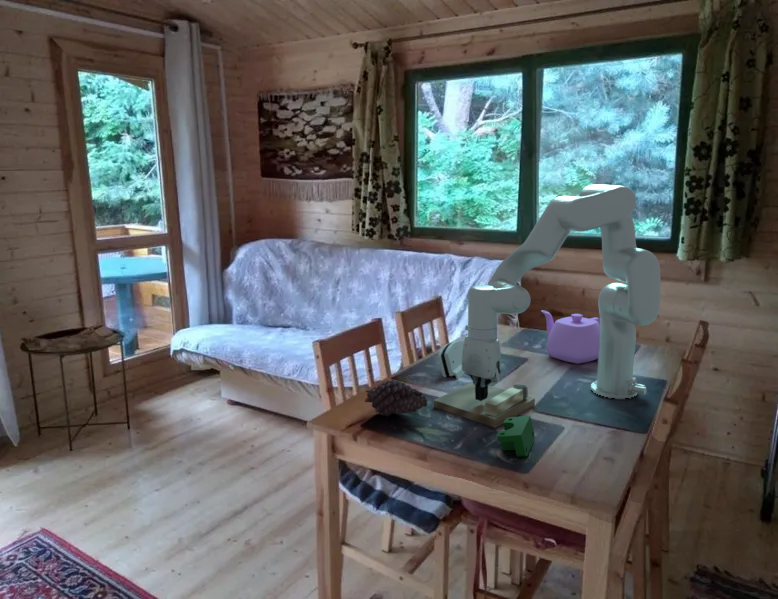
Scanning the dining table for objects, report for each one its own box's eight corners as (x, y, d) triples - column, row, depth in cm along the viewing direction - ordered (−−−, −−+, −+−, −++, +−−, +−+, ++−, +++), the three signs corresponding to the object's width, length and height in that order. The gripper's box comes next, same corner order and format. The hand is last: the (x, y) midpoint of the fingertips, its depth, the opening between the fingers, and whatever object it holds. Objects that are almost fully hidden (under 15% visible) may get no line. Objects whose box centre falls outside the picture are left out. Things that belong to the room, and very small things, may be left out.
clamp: (512, 455, 143) (508, 417, 145) (536, 454, 140) (532, 415, 142) (497, 458, 132) (493, 417, 134) (523, 456, 130) (518, 415, 132)
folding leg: (516, 393, 163) (517, 383, 162) (529, 396, 160) (529, 386, 160) (483, 412, 150) (484, 402, 150) (496, 416, 148) (497, 405, 147)
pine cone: (432, 413, 157) (432, 378, 155) (420, 428, 148) (420, 391, 146) (371, 404, 163) (370, 370, 161) (356, 419, 154) (355, 383, 152)
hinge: (457, 379, 181) (447, 348, 180) (444, 382, 183) (434, 352, 183) (476, 363, 195) (467, 334, 195) (463, 366, 198) (454, 337, 197)
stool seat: (534, 405, 161) (534, 397, 160) (495, 428, 148) (496, 419, 147) (474, 387, 174) (474, 380, 174) (433, 406, 161) (433, 399, 160)
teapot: (617, 356, 200) (620, 313, 197) (580, 369, 188) (582, 324, 184) (562, 341, 218) (564, 301, 214) (524, 352, 205) (525, 310, 202)
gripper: (450, 330, 156) (450, 395, 160) (497, 341, 145) (496, 410, 149) (468, 324, 161) (467, 387, 165) (515, 335, 150) (513, 402, 154)
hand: (481, 398), depth 157 cm, fingers closed
